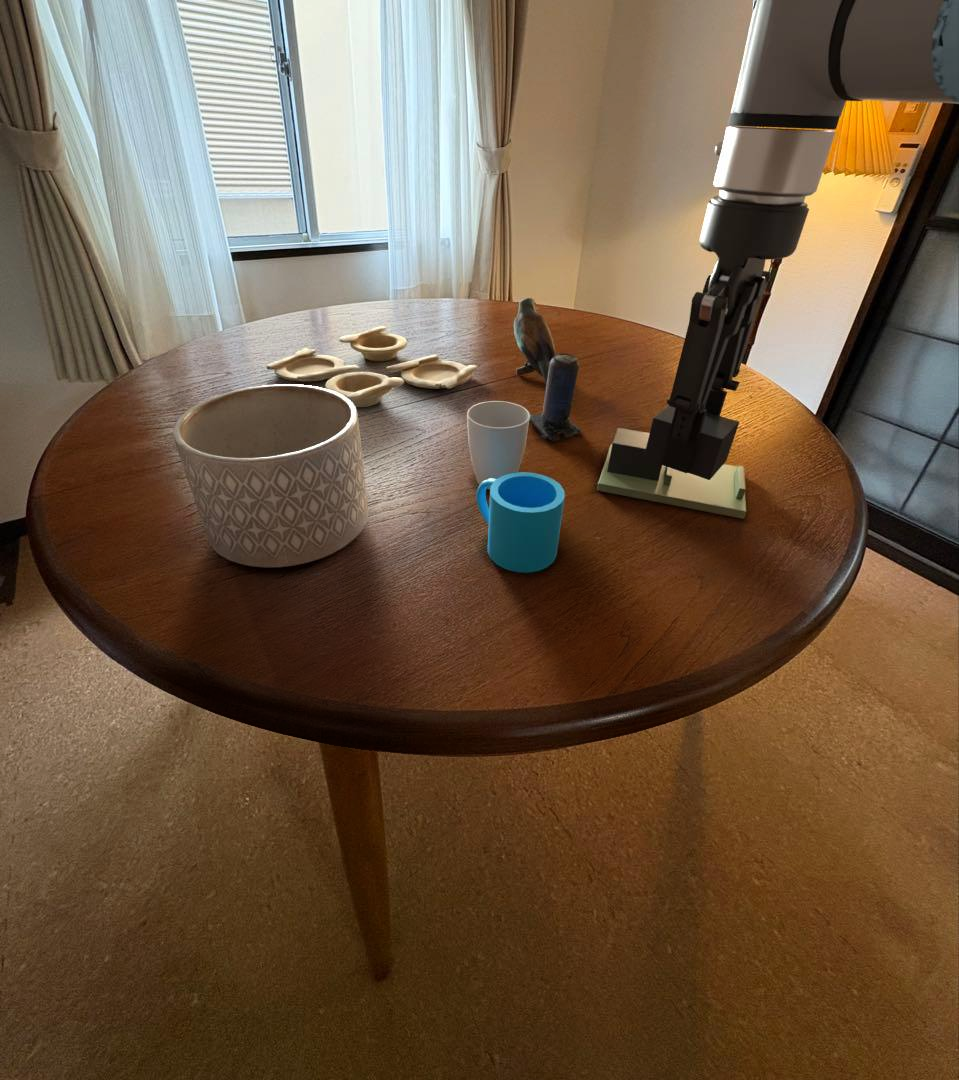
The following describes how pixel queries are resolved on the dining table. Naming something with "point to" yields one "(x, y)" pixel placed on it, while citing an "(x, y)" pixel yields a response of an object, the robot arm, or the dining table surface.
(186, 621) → the dining table surface
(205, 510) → the planter
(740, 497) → the dock
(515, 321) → the bird figurine
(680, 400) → the robot arm
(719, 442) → the dark grey block
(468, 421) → the cup
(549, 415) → the dark cylinder on base
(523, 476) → the mug
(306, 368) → the tableware set
